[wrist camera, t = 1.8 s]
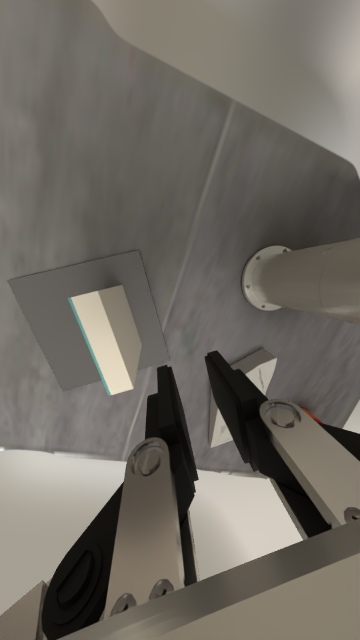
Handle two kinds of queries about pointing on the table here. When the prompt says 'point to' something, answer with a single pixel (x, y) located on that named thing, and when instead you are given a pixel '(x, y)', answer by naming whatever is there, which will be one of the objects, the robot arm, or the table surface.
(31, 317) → the mat
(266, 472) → the robot arm
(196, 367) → the table surface
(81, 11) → the table surface
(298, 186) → the table surface
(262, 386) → the ramp
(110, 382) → the tile
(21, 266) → the table surface
